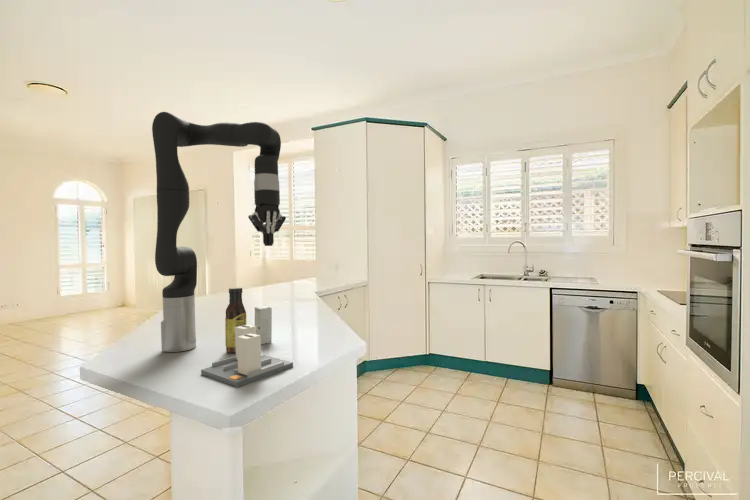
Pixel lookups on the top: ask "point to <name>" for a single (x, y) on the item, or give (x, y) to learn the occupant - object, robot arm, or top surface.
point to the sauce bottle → (234, 317)
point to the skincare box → (264, 323)
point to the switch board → (229, 374)
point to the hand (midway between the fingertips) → (268, 245)
